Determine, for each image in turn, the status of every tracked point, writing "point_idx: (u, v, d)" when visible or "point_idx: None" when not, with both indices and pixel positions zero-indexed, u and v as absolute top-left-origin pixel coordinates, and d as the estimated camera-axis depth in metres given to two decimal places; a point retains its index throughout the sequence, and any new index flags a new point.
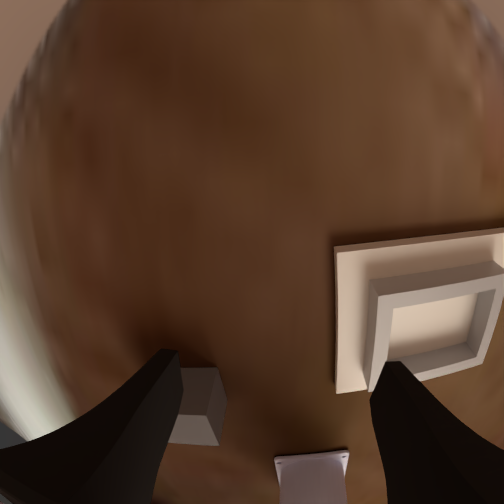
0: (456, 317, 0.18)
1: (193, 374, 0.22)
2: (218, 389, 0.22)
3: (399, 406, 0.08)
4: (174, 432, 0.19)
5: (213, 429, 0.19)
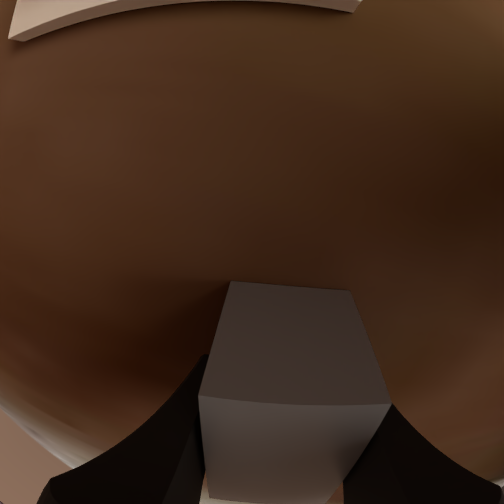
0: None
1: None
2: (268, 305, 0.09)
3: None
4: (291, 471, 0.07)
5: (298, 397, 0.06)
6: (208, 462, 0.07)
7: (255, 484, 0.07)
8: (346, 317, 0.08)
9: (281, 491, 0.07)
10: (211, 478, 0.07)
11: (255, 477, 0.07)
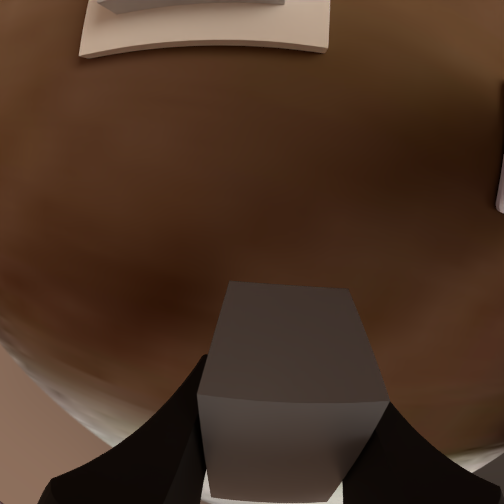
0: None
1: None
2: (266, 304, 0.09)
3: None
4: (292, 469, 0.07)
5: (296, 395, 0.06)
6: (209, 461, 0.07)
7: (256, 483, 0.07)
8: (344, 315, 0.09)
9: (282, 490, 0.07)
10: (212, 477, 0.07)
11: (256, 476, 0.07)
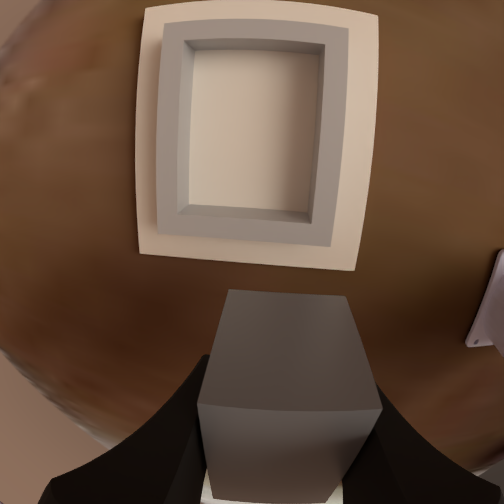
0: (259, 81, 0.13)
1: None
2: (264, 313, 0.09)
3: None
4: (290, 472, 0.07)
5: (292, 403, 0.06)
6: (210, 465, 0.07)
7: (256, 485, 0.07)
8: (341, 323, 0.09)
9: (281, 491, 0.07)
10: (214, 480, 0.07)
11: (255, 478, 0.07)
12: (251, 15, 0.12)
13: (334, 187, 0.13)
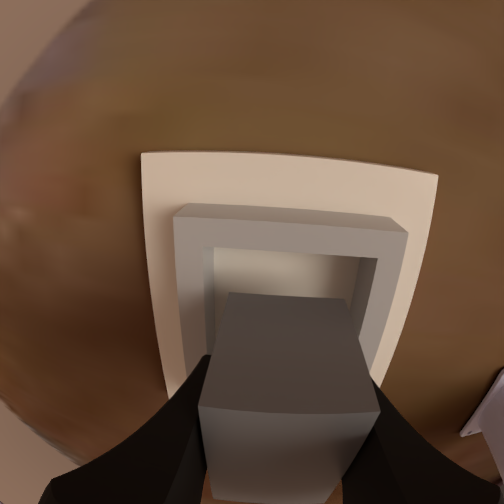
0: (292, 272, 0.13)
1: None
2: (264, 316, 0.09)
3: None
4: (289, 473, 0.07)
5: (291, 406, 0.06)
6: (210, 465, 0.07)
7: (255, 485, 0.07)
8: (340, 326, 0.09)
9: (280, 491, 0.08)
10: (214, 480, 0.07)
11: (255, 479, 0.07)
12: (284, 181, 0.11)
13: None
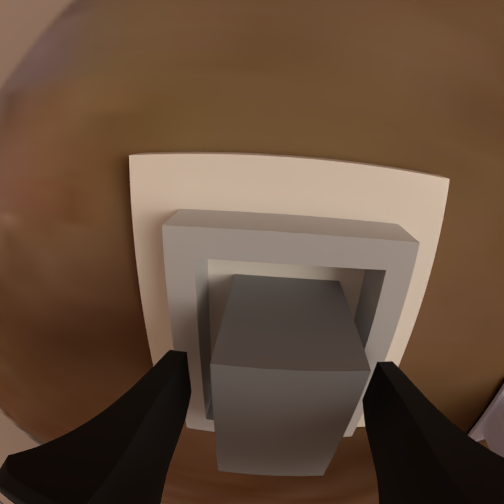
0: None
1: None
2: (267, 293, 0.10)
3: (390, 407, 0.08)
4: (290, 438, 0.08)
5: (292, 364, 0.07)
6: (217, 430, 0.08)
7: (259, 453, 0.09)
8: (334, 302, 0.10)
9: (282, 460, 0.09)
10: (220, 448, 0.09)
11: (258, 445, 0.08)
12: (284, 185, 0.10)
13: None
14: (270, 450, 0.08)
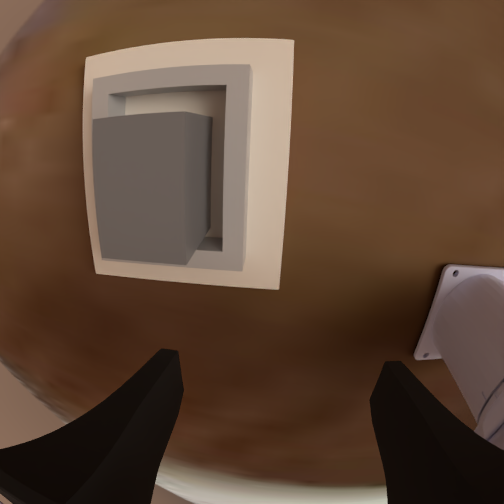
0: None
1: None
2: None
3: (399, 406, 0.08)
4: (144, 193, 0.11)
5: None
6: (96, 190, 0.11)
7: (125, 219, 0.12)
8: None
9: (144, 232, 0.12)
10: (99, 216, 0.12)
11: (124, 206, 0.12)
12: (171, 58, 0.13)
13: (240, 218, 0.15)
14: (132, 213, 0.12)
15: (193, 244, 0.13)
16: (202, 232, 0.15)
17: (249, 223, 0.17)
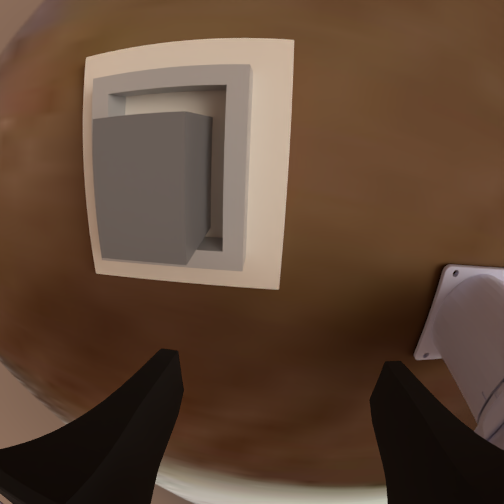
0: None
1: None
2: None
3: (399, 407, 0.08)
4: (144, 193, 0.11)
5: (137, 114, 0.10)
6: (96, 190, 0.11)
7: (125, 219, 0.12)
8: None
9: (144, 232, 0.12)
10: (99, 216, 0.12)
11: (124, 206, 0.12)
12: (172, 58, 0.13)
13: (240, 218, 0.15)
14: (133, 213, 0.12)
15: (193, 244, 0.13)
16: (202, 232, 0.15)
17: (249, 223, 0.17)
